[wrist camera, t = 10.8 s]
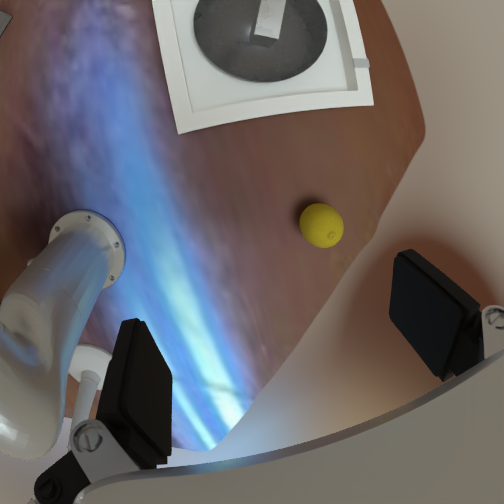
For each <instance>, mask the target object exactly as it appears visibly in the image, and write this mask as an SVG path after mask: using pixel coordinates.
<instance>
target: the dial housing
mask: <svg viewBox="0 0 504 504" xmlns="http://www.w3.org/2000/svg"><path fill="white" fill-rule="evenodd" d="M317 1H318V2H319V4H320V6H321V8H322V9H323V12H324V14H325V17H326V21H327V29H328V33H327V41H326V45H325V47H324V50H323V52H322V54H321V55H320V57H319V58H318V59H317V61H316V62H315V63H314V64H313V65H312V66H311V67H310V68H308V69H307V70H305V71H304V72H303V73H301V74H299V75H297V76H294V77H292V78H289V79H286V80H283V81H279V82H273V83H254V82H247V81H243V80H240V79H237V78H234V77H231V76H229V75H227V74H225V73H224V72H222V71H220V70H219V69H217V68H216V67H215V66H214V65H212V64H211V63H210V62H209V61H208V60H207V59H206V57H205V56H204V55H203V53H202V52H201V50H200V48H199V46H198V44H197V42H196V39H195V34H194V27H193V19H194V13H195V9H196V6H197V4H198V2H199V0H152V4H153V10H154V16H155V22H156V27H157V33H158V39H159V44H160V49H161V55H162V60H163V65H164V70H165V75H166V80H167V85H168V90H169V94H170V99H171V104H172V108H173V113H174V118H175V122H176V127H177V131H178V134H182V133H186V132H190V131H194V130H198V129H202V128H206V127H211V126H215V125H220V124H225V123H230V122H235V121H240V120H245V119H251V118H256V117H262V116H269V115H275V114H282V113H289V112H297V111H305V110H314V109H324V108H335V107H348V106H366V105H374V103H373V96H372V89H371V82H370V76H369V70H368V68H370V65H369V60H368V59H366V54H365V49H364V45H363V40H362V36H361V31H360V27H359V23H358V19H357V15H356V11H355V7H354V4H353V0H317Z"/></svg>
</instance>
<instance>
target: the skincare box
mask: <svg viewBox="0 0 504 504" xmlns="http://www.w3.org/2000/svg"><path fill="white" fill-rule="evenodd" d="M11 18H12V16H10V15H8V14H6V13H4V12H2V11H0V36H1V34H2V32H3V31H4V29H5V28H6V26H7V24H8V23H9V21H10V20H11Z"/></svg>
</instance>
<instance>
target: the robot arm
mask: <svg viewBox="0 0 504 504" xmlns="http://www.w3.org/2000/svg"><path fill="white" fill-rule="evenodd" d="M89 216H90V217H91V218H89ZM117 242H118V243H119V244H118V243H117ZM125 255H126V254H125V246H124V243H123V240H122V238H121V236H120V234H119V232H118V230H117V229H116V228H115V227H114V225H113V224H112V223H111V222H110V221H109V220H108V219H106V218H105V217H103V216H102V215H100V214H98V213H95V212H93V211H88V210H76V211H72V212H69V213H67V214H65V215H64V216H63V217H61V218H60V219H59V220H58V221H57V222H56V223H55V225H54V226H53V228H52V230H51V233H50V236H49V242H48V245H47V246H46V247H45V248H44V250H43V251H42V252H41V253H40V254H39V255H38V256H37V257H36V258H33V259H30V260H28V263H27V265H28V267H27V268H26V269H25V270H24V271H23V272H22V273H21V274H20V276H19V277H18V278H17V279H16V280H15V281H14V282H13V283H12V284H11V286H10V287H9V288H8V290H7V291H6V293H5V295H4V297H3V300H2V302H1V306H0V451H1V452H2V453H4V454H7V455H8V456H11V457H13V458H17V459H21V460H34V459H39V458H41V457H43V456H44V455H46V454H47V453H48V452H49V451H50V450H51V449H52V448H53V446H54V445H55V443H56V442H57V439H58V437H59V435H60V431H61V428H62V424H63V419H64V411H65V398H66V385H67V377H68V373H69V368H70V364H71V361H72V358H73V355H74V352H75V349H76V347H77V344H78V342H79V339H80V337H81V334H82V332H83V330H84V327H85V325H86V323H87V320H88V318H89V316H90V314H91V311H92V309H93V307H94V305H95V303H96V300H97V298H98V296H99V294H100V292H101V290H102V289H105V288H107V287H109V286H111V285H112V284H113V283H114V282H115V281H116V280H117V279H118V278H119V276H120V275H121V273H122V270H123V268H124V264H125ZM479 308H480V304H479V303H478V302H477V301H476V300H475V299H473V298H472V297H471V296H470V295H469V294H468V293H466V292H465V291H464V290H463V289H461V287H459V286H458V285H457V284H456V283H455V282H453V281H452V280H451V279H450V278H449V277H447V276H446V275H445V274H444V273H442V272H441V271H440V270H439V269H437V268H436V267H435V266H434V265H432V264H431V263H430V262H429V261H427V260H426V259H425V258H424V257H422V256H421V255H420V254H418V253H417V252H416V251H414V250H413V249H408V250H405V251H402V252H399V253H398V254H397V257H395V259H394V266H393V279H392V290H391V299H390V308H389V316H390V319H391V321H392V322H393V323H394V325H395V326H396V327H397V328H398V329H399V331H401V333H402V334H403V336H404V337H405V338H406V339H407V341H408V342H409V343H410V344H411V346H412V347H413V348H414V350H415V351H416V352H417V353H418V355H419V356H420V357H421V358H422V360H423V361H424V363H425V364H426V365H427V366H428V368H429V369H430V370H431V372H432V373H433V374H434V375H435V376H437V377H438V376H439V378H440V379H441V380H442V382H444V381H446V380H447V379H449V378H451V377H452V376H453V375H454V374H455V376H456V377H455V378H454V379H452V380H450V381H448V382H447V383H445V384H443V385H441V386H439V387H438V388H436V389H434V390H432V391H430V392H428V393H427V394H425V395H423V396H421V397H419V398H417V399H415V400H413V401H411V402H409V403H407V404H405V405H402V406H400V407H398V408H396V409H394V410H392V411H389V412H387V413H385V414H383V415H380V416H378V417H376V418H373V419H371V420H368V421H366V422H363V423H361V424H358V425H355V426H353V427H350V428H347V429H345V430H342V431H339V432H336V433H333V434H330V435H327V436H324V437H321V438H318V439H315V440H311V441H308V442H304V443H301V444H297V445H294V446H290V447H287V448H283V449H278V450H274V451H270V452H266V453H261V454H257V455H252V456H247V457H242V458H236V459H230V460H224V461H218V462H212V463H204V464H197V465H188V466H179V467H167V468H159V469H156V468H157V465H161V464H167V456H171V451H172V445H171V423H172V374H171V371H170V369H169V367H168V365H167V363H166V362H165V360H164V358H163V356H162V354H161V352H160V350H159V349H158V347H157V345H156V343H155V341H154V339H153V337H152V335H151V333H150V331H149V329H148V327H147V325H146V323H145V322H144V321H140V320H139V319H138V318H134V319H129V320H124V321H122V323H121V326H120V330H119V333H118V337H117V340H116V344H115V347H114V351H113V355H112V358H111V360H110V361H109V364H108V367H107V371H106V375H105V379H104V383H103V387H102V392H101V396H100V400H99V405H98V410H97V414H96V419H88V420H84V421H82V422H80V423H79V424H77V425H76V426H75V427H74V429H73V430H72V432H71V435H70V438H69V445H70V448H71V450H70V451H69V452H68V453H67V454H66V455H65V456H63V457H62V458H61V459H60V460H58V461H57V462H56V463H55V464H53V465H52V466H51V467H50V468H48V469H47V470H46V471H45V472H43V473H42V474H41V475H40V476H39V477H38V478H37V480H36V482H35V486H34V494H35V497H36V499H35V500H33V499H30V501H29V502H28V504H504V307H502V306H498V305H491V306H487V307H486V308H485V309H484V310H483V311H482V312H480V311H479Z"/></svg>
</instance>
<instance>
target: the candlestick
mask: <svg viewBox="0 0 504 504" xmlns="http://www.w3.org/2000/svg"><path fill="white" fill-rule="evenodd" d="M111 358H112V354H110V353H109V352H108V351H106V350H104V349H102V348H100V347H97V346H94V345H90V344H77V347H76V349H75V352H74V355H73V358H72V361H71V364H70V368H69V373H70V374H71V375H72V376H73V377H74V378H75V379H76V380H77V381H78V382H80V385H79V390H78V394H77V399H76V404H75V408H74V414H73V419H72V425H71V430H70V435H71V432H72V430H73V429H74V427H75V426H76V425H77V424H79V423H80V422H82V421H84V420H88V416H89V413H90V409H91V406H92V403H93V399H94V396H95V393H96V390H102V387H103V383H104V379H105V375H106V371H107V367H108V364H109V361H110V360H111ZM69 438H70V436H69ZM67 448H68V452H69V451H70V450H71V448H70V445H69V442H68V446H67Z"/></svg>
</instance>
